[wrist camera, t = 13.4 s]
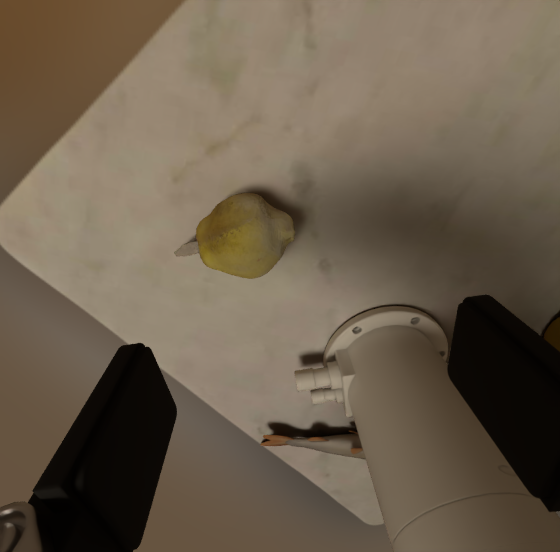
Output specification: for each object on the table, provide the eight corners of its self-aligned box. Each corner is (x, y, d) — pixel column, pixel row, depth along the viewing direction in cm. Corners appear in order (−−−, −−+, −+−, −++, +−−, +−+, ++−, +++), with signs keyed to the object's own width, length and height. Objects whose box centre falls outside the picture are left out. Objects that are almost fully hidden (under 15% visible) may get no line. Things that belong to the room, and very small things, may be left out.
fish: (437, 423, 37) (420, 434, 40) (262, 413, 36) (261, 426, 40) (449, 466, 34) (430, 474, 37) (259, 456, 33) (259, 465, 37)
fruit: (159, 215, 24) (273, 163, 21) (203, 263, 28) (304, 225, 26) (139, 266, 20) (275, 211, 18) (193, 315, 24) (311, 276, 22)
